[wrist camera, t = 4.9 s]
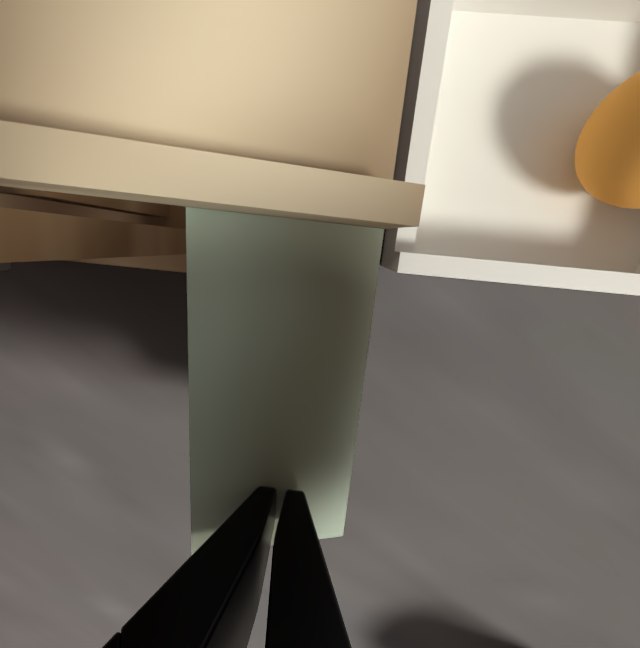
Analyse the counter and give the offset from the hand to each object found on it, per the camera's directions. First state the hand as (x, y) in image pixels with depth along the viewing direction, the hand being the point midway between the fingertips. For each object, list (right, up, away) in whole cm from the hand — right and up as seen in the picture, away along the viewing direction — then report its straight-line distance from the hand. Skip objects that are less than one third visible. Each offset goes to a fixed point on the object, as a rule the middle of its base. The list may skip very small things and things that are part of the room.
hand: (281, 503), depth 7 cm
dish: (+7, +9, +2) cm, 12 cm away
